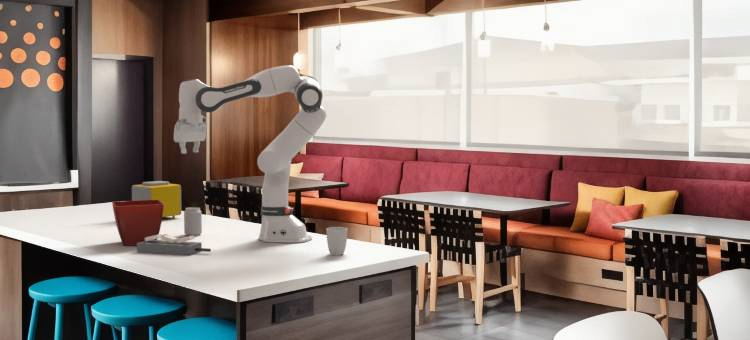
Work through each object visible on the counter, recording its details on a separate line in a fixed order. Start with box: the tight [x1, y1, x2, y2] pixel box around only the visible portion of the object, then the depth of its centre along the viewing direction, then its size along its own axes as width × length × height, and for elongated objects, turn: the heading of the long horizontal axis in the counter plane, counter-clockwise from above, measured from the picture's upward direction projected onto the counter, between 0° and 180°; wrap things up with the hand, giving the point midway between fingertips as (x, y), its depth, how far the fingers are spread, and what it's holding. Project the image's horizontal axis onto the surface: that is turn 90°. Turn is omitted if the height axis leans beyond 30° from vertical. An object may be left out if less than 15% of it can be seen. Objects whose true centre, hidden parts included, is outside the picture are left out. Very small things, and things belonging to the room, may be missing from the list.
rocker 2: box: [159, 233, 179, 243], centre depth 333 cm, size 6×3×2 cm, turn 74°
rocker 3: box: [177, 236, 195, 243], centre depth 331 cm, size 6×3×2 cm, turn 73°
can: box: [183, 206, 203, 237], centre depth 375 cm, size 8×8×12 cm
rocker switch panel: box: [136, 239, 212, 256], centre depth 332 cm, size 29×9×4 cm, turn 73°
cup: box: [325, 226, 349, 256], centre depth 328 cm, size 8×8×10 cm
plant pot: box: [112, 200, 164, 246], centre depth 353 cm, size 19×19×17 cm
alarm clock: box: [131, 180, 182, 219], centre depth 427 cm, size 20×16×18 cm
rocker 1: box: [145, 233, 162, 242], centre depth 335 cm, size 6×3×2 cm, turn 73°
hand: (189, 152), depth 351 cm, fingers open, 8 cm apart
